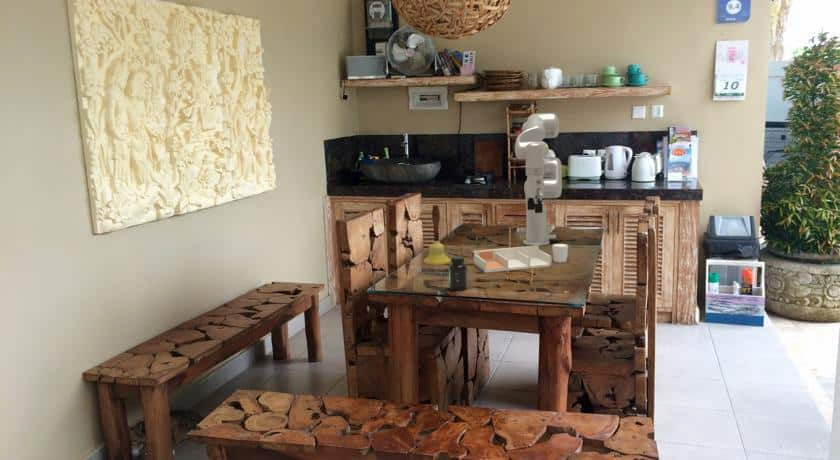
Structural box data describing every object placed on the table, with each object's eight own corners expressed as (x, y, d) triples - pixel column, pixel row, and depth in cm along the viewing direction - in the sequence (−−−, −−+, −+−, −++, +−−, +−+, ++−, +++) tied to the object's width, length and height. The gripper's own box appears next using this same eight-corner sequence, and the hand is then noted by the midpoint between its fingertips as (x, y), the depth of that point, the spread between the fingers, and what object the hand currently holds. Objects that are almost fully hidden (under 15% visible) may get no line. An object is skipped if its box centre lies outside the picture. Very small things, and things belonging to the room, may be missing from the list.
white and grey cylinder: (550, 262, 306) (550, 246, 305) (553, 258, 312) (553, 243, 311) (566, 263, 304) (567, 247, 302) (569, 259, 310) (569, 243, 309)
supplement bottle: (447, 290, 269) (446, 259, 267) (452, 285, 275) (451, 255, 273) (464, 291, 266) (463, 260, 264) (469, 286, 273) (469, 256, 270)
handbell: (430, 265, 308) (429, 208, 303) (418, 260, 319) (416, 204, 314) (456, 262, 313) (454, 205, 308) (443, 256, 324) (441, 202, 319)
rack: (537, 258, 313) (537, 245, 312) (551, 266, 299) (551, 252, 298) (474, 264, 307) (473, 250, 306) (484, 272, 293) (484, 258, 292)
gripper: (550, 173, 298) (550, 213, 301) (536, 169, 315) (536, 208, 318) (533, 174, 297) (533, 214, 300) (519, 170, 314) (520, 209, 317)
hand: (534, 211), depth 309 cm, fingers open, 9 cm apart
